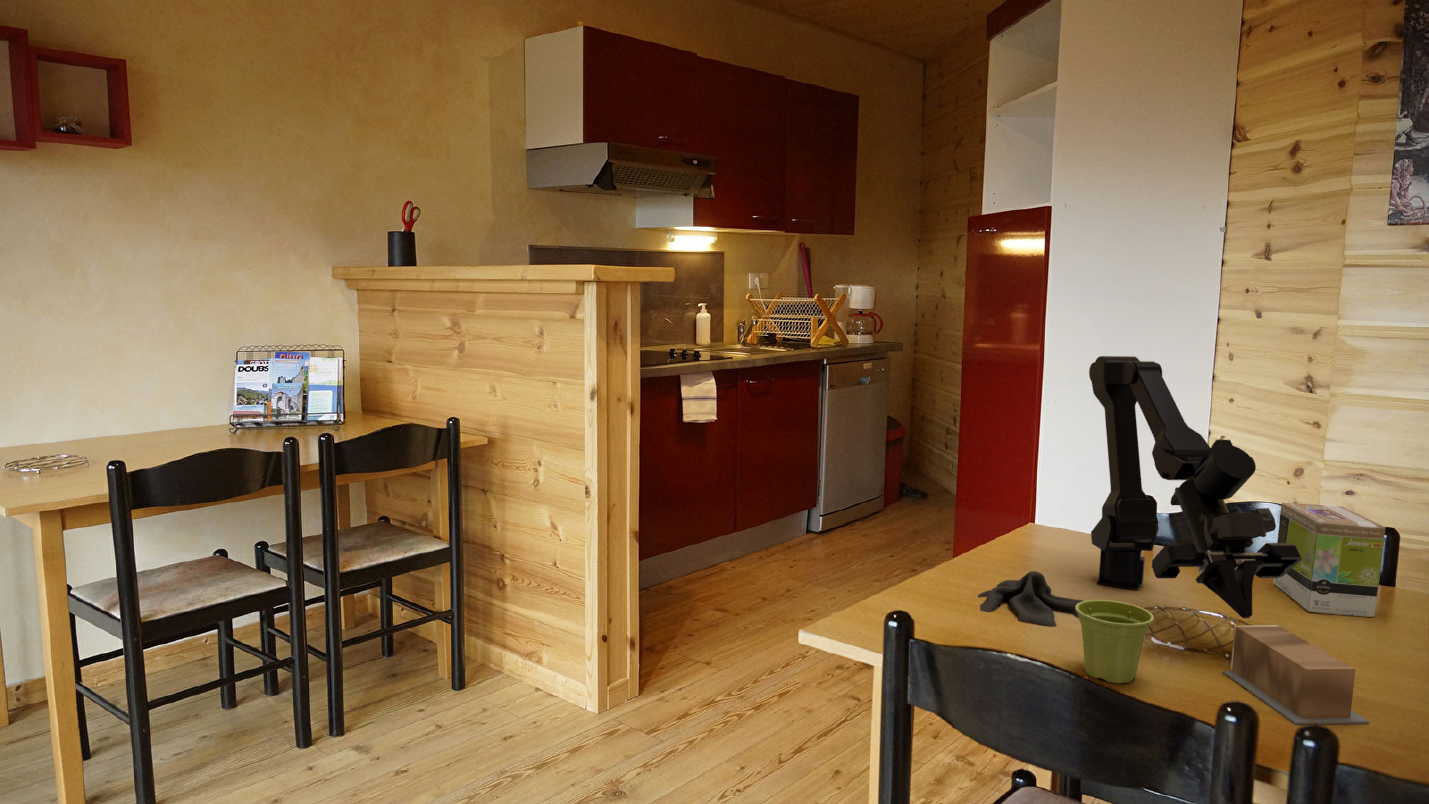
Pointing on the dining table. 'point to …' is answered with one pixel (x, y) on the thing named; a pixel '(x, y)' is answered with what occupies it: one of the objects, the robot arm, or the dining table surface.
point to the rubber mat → (1287, 712)
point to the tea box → (1332, 559)
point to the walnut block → (1293, 671)
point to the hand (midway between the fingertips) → (1247, 617)
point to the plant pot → (1112, 638)
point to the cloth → (1029, 600)
